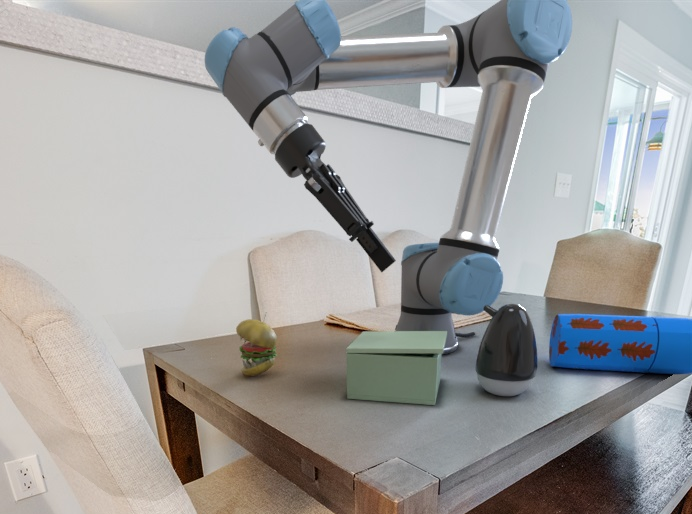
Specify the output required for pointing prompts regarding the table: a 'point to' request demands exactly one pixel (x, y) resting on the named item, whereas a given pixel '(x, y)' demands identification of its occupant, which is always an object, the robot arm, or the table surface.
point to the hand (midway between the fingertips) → (388, 266)
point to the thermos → (621, 343)
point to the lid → (399, 342)
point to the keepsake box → (394, 377)
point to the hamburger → (257, 346)
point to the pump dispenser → (507, 352)
